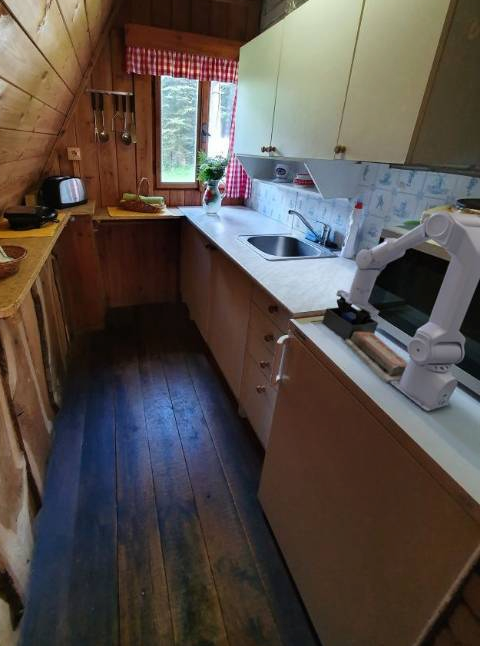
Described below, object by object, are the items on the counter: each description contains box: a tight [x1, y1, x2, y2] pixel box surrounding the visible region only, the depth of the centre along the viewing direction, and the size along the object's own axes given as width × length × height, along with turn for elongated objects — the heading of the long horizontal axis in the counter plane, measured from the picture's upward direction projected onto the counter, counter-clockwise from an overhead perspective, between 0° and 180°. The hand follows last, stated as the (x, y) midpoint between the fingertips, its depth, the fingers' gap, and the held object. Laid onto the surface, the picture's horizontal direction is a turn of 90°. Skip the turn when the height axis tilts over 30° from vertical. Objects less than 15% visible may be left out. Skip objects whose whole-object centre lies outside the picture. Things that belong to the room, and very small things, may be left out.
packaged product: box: [344, 332, 408, 384], centre depth 86 cm, size 18×5×10 cm
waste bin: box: [322, 305, 379, 341], centre depth 100 cm, size 11×11×6 cm
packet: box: [341, 312, 356, 325], centre depth 100 cm, size 4×4×5 cm
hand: (348, 324), depth 100 cm, fingers open, 5 cm apart
